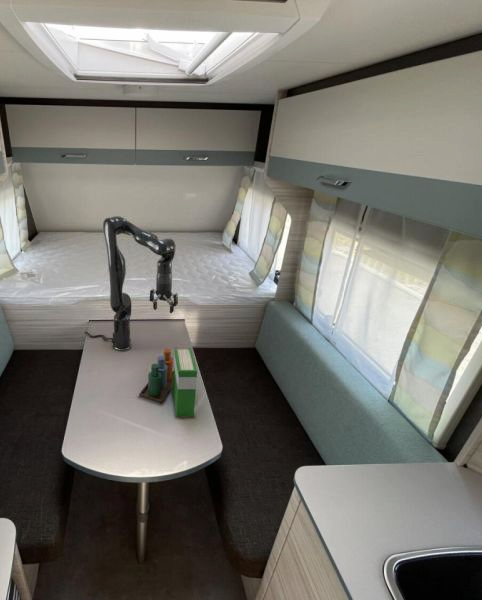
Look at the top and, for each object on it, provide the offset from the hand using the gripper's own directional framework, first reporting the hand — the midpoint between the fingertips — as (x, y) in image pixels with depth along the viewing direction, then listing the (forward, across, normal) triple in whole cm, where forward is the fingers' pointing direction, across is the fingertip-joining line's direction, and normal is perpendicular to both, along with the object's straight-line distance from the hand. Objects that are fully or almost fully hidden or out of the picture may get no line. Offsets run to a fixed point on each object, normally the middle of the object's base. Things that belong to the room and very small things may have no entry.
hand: (163, 311), depth 163 cm
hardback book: (+32, -21, +23) cm, 45 cm away
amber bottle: (+32, -7, +10) cm, 34 cm away
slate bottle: (+32, -7, +17) cm, 36 cm away
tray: (+32, -7, +17) cm, 37 cm away
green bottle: (+32, -7, +24) cm, 40 cm away
